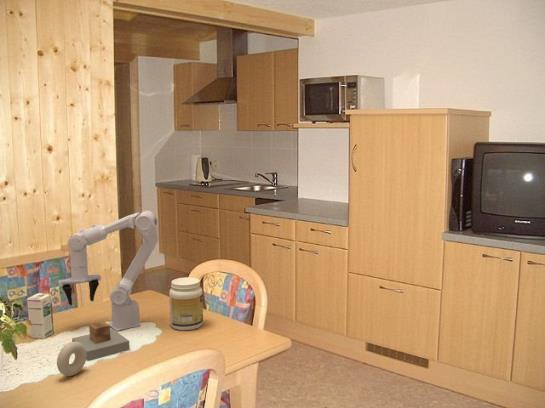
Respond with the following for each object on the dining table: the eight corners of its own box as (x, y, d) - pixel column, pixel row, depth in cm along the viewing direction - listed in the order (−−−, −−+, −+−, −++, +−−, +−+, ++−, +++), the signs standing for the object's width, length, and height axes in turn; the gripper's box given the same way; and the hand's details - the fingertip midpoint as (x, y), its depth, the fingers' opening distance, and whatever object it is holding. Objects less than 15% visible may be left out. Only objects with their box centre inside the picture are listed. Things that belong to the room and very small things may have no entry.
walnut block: (104, 335, 187) (103, 321, 186) (110, 339, 183) (109, 325, 182) (90, 338, 184) (89, 324, 183) (95, 343, 180) (95, 328, 179)
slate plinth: (112, 336, 193) (112, 328, 193) (129, 349, 182) (129, 340, 182) (72, 346, 185) (72, 338, 184) (87, 360, 174) (87, 351, 173)
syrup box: (44, 339, 191) (42, 298, 189) (29, 337, 193) (26, 297, 190) (54, 332, 197) (51, 293, 195) (39, 331, 198) (36, 292, 196)
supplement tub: (207, 328, 202) (207, 283, 199) (175, 333, 196) (174, 287, 194) (197, 317, 213) (196, 274, 210) (166, 322, 207) (164, 278, 205)
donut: (81, 367, 169) (80, 335, 168) (89, 369, 168) (88, 338, 166) (55, 380, 160) (53, 347, 159) (63, 382, 159) (61, 349, 157)
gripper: (61, 271, 192) (63, 309, 194) (102, 265, 200) (104, 301, 202) (56, 267, 198) (58, 303, 200) (96, 261, 206) (98, 296, 208)
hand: (81, 302), depth 201 cm, fingers open, 7 cm apart
